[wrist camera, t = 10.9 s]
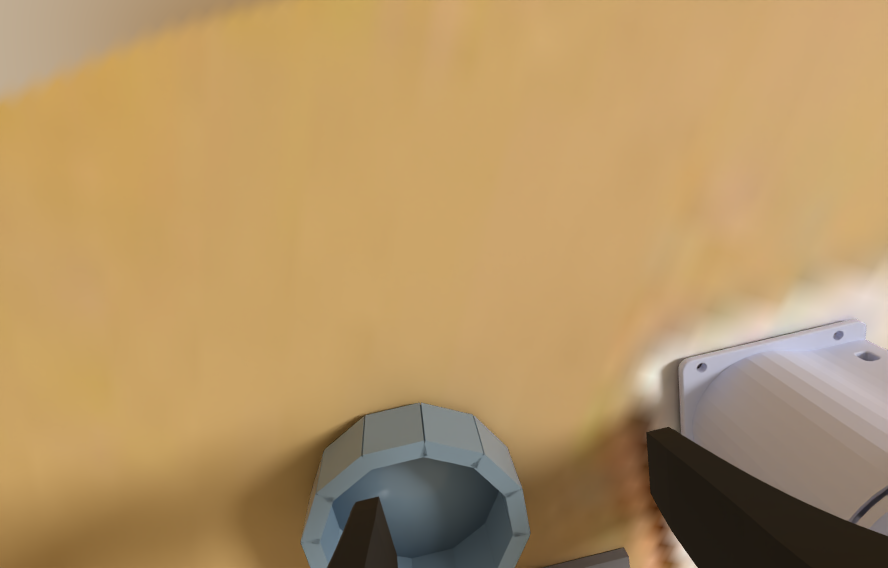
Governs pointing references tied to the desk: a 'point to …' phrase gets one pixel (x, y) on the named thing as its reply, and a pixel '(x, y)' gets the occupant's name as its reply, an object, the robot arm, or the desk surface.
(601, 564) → the mat
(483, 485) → the bowl
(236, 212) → the desk surface
